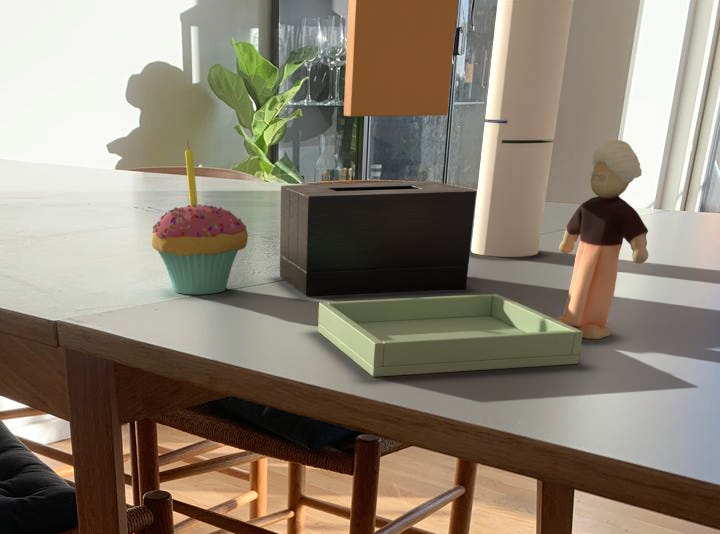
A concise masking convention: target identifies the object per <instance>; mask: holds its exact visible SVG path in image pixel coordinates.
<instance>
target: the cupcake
mask: <svg viewBox="0 0 720 534" xmlns="http://www.w3.org/2000/svg"><path fill="white" fill-rule="evenodd" d="M185 143H186V149H187V150H185V152H184V153H185V155H184V156H185V165H186V176H187V187H188V197H189V205H187V206H184V207H182V206H181V207H174V208H172V209H169V211H168V212H165V213H164V214H163V215H162V216H160V219H159V220H158V221H157V222H156V223H155V224H154V226H152V237H151V247H152V248H153V249H154V250H155V251H157V252H158V253H159V255H160V258H161V259H162V261H163V263H164V265H165V268H166V270H167V273H168V276H169V279H170V283H171V287H172V289H173V291H174V292H175V293H177V294H178V293H179V294H183V295H196V296H197V295H198V296H200V295H213V294H218V293H219V294H220V293H222V292H224V291H226V289H227V286H228V282H229V278H230V275H231V270H232V267H233V264H234V261H235V259H236V256H237V254H238V252H239V251H241V250H244V249H245V248H246V246H247V245H248V239H249V238H248V237H249V234H248V231H247V225H246V224H244V222H243V221H242V218H238V217H237V216H236V215H235V214H233V213H232V211H230V210H228V209H227V210H226V209H224V208H222V207H221V206H220V207H217V206H214V205H207V204H204V205H202V204H198V194H197V183H196V172H195V162H194V161H195V160H194V151H193V150H191V149H190V141H189V139H187V140H186V141H185Z"/></svg>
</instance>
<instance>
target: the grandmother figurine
mask: <svg viewBox="0 0 720 534" xmlns="http://www.w3.org/2000/svg"><path fill="white" fill-rule="evenodd" d="M591 163H592V166H593V168H592V169H593V171H592V173H591V174H590V175H591V176H590V188H591V191H592V192H593V193H594V194H595V195H596V196H593V197H590V198H589V199H588V200H586V201H584V202H583V203H581V204H580V205H579V206H578V208H577V209H576V210H575V212H574V213H573V215H572V216H571V218H570V219H569V221H568V223H567V224H566V229H565V232H564V234H563V237H562V239H563V240H562V241H561V242H560V244H559V245H558V246H559V247H558V249H559V251H560V253H562V254H563V255H564V254H565V255H568V254H570V253H572V252H573V251H574V248H575V243H576V242H578V239H579V240H580V241H579V242H578V248H577V250H576V255H575V259H574V266H573V272H572V276H571V281H570V286H569V290H568V295H567V299H566V303H565V306H564V307H565V308H564V313H563V314H564V316H559V317H556V318H554V319H555V320H558V321H560V322H562V323H565V324H567V325H569V326H571V327H574V328H576V329H578V330H581V331H583V337H582V339H587V340H598V339H603V338H606V337H609V336H610V335H611V330H610V328H609V326H607V324H608V320H609V316H610V311H611V306H612V302H613V299H614V295H615V291H616V284H617V283H616V282H617V278H618V271H619V270H618V268H619V258H620V252H621V249H622V246H623V241H624V240H625V241H626V242H627V243H628V244H629V245H630V249H631V251H632V261H633V262H634V263H635V264H643V263H645V262H646V261H647V260H648V258H649V251H648V249H647V245H648V240H647V234H648V233H649V229H648V228H647V226H646V225H645V223H644V221H643V220H642V218H641V216H640V215H639V213H638V212H637V211H636V209H635V208H634V207H633V206H631V204H629V203H628V201H626V200H624V199H623V198H621V197H620V196H621V195H622V194H623V193H624V192H625V191H626V190H627V188H628V186H629V184H631V183H632V182H633V181H634V179H638V178H639V177H641V176H642V173H643V171H642V168H641V163H640V162H639V157H638V156H637V154H636V153H635V151H634V149H633V148H632V147H631V145H630V144H629V143H628V142H626V141H625V140H619V139H616V140H615V139H614V140H608V141H605V142H602V143H601V144H599V145H598V146H597V147H596V148H595V149H594V152H593V154H592V161H591Z"/></svg>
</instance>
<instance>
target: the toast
mask: <svg viewBox="0 0 720 534" xmlns="http://www.w3.org/2000/svg"><path fill="white" fill-rule="evenodd" d="M458 3H459V0H348V11H347V29H346V30H347V31H346V33H347V34H346V53H345V55H346V56H345V75H344V76H345V78H344V79H345V80H344V96H343V97H344V99H343V116H344V117H399V116H400V117H409V116H410V117H413V116H414V117H415V116H418V117H419V116H420V117H421V116H424V117H425V116H427V117H428V116H447V115H448V112H449V111H448V110H449V100H450V89H451V79H452V78H451V77H452V67H453V58H454V48H455V47H454V46H455V35H456V26H457V25H456V24H457V15H458Z"/></svg>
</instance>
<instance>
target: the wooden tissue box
mask: <svg viewBox="0 0 720 534" xmlns="http://www.w3.org/2000/svg"><path fill="white" fill-rule="evenodd" d="M476 200H477V191H476V190H473V189H468V188H464V187H459V186H455V185H451V184H446V183H442V182H438V181H433V180H431V181H401V182H399V181H396V182H359V183H357V182H356V183H328V184H327V183H323V184H291V185H288V184H287V185H280V221H279V222H280V226H279V231H280V233H279V235H280V236H279V237H280V238H279V245H280V246H279V278H281V279H282V280H283V281H286V283H288V284H289V285H290V286H292V287H293V288H295V289H296V290H297V291H299V292H300V293H302V294H303V295H304V296H306V297H312V296H313V297H315V296H317V297H318V296H335V295H360V294H376V293H398V292H419V291H420V292H421V291H422V292H423V291H441V290H461V289H466V288H467V283H468V282H467V281H468V274H469V264H470V256H471V255H470V254H471V247H472V238H473V229H474V219H475V210H476Z"/></svg>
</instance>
